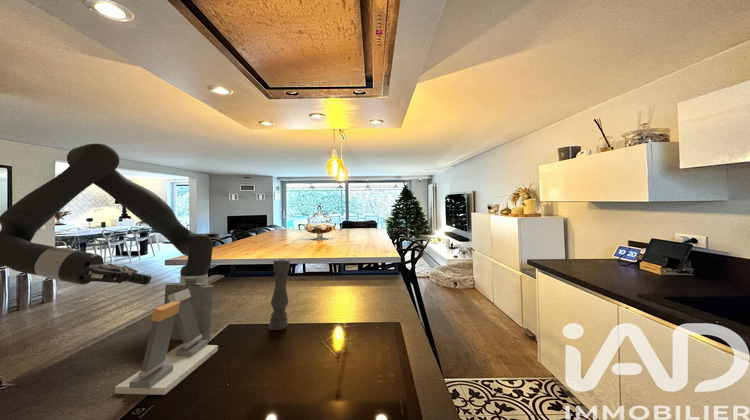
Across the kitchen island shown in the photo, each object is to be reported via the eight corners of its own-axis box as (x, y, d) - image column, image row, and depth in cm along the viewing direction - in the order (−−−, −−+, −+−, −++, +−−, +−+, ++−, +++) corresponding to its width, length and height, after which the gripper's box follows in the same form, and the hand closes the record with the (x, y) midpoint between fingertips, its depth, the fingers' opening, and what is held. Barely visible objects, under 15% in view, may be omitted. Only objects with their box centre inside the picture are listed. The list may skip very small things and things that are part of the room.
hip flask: (159, 339, 91) (163, 276, 92) (169, 334, 95) (173, 274, 96) (205, 342, 90) (209, 279, 91) (213, 337, 94) (217, 277, 95)
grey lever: (183, 349, 78) (167, 295, 79) (197, 340, 85) (182, 290, 85) (189, 347, 78) (173, 293, 79) (203, 338, 85) (188, 288, 85)
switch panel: (113, 394, 63) (114, 381, 63) (181, 348, 85) (182, 339, 85) (163, 395, 63) (164, 382, 63) (218, 350, 85) (218, 340, 85)
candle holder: (268, 331, 101) (272, 261, 102) (270, 325, 107) (273, 258, 108) (286, 330, 102) (290, 261, 103) (287, 324, 108) (290, 258, 109)
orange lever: (137, 377, 63) (153, 308, 64) (158, 363, 70) (173, 301, 71) (145, 379, 63) (161, 310, 64) (165, 365, 70) (180, 302, 71)
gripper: (54, 251, 63) (140, 268, 67) (95, 249, 76) (166, 264, 80) (39, 284, 62) (128, 300, 66) (84, 277, 75) (156, 291, 79)
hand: (149, 280), depth 73 cm, fingers closed
